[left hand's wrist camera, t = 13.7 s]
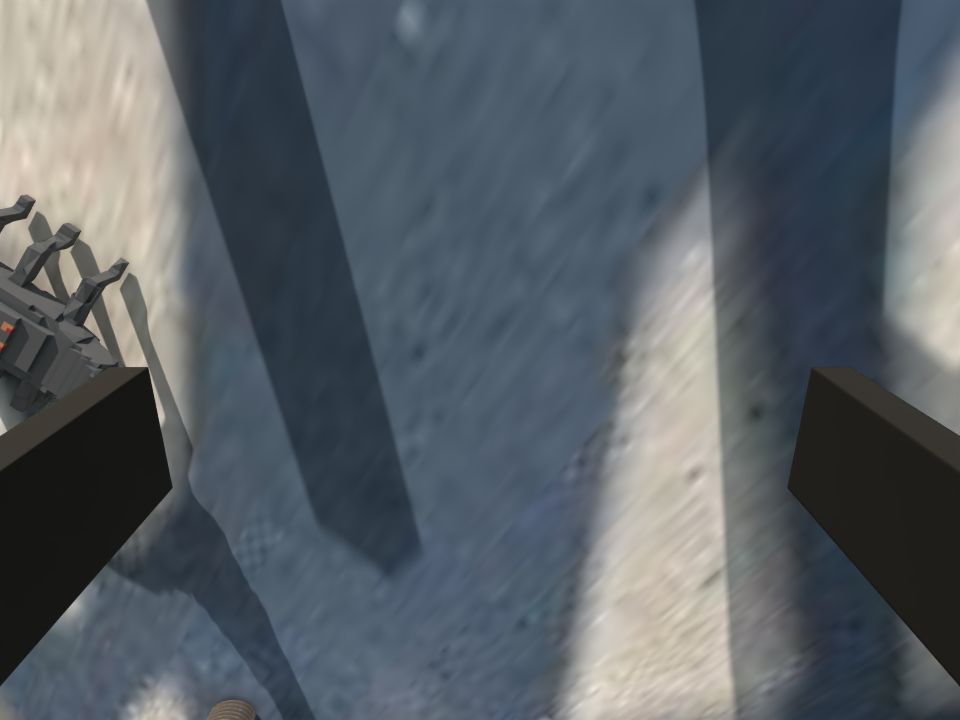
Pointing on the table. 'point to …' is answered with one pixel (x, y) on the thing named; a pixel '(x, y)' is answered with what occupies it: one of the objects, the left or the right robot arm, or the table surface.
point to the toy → (48, 321)
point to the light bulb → (232, 711)
